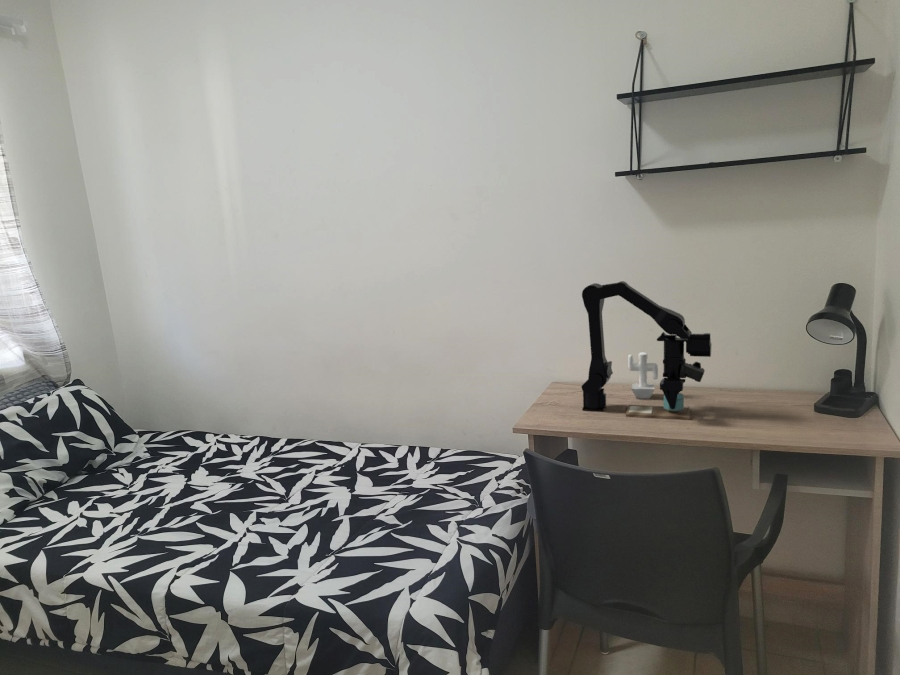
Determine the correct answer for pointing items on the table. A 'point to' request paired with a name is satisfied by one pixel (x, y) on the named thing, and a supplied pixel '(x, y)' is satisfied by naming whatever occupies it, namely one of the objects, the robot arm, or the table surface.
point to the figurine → (643, 375)
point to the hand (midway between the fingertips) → (673, 406)
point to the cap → (678, 405)
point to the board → (657, 412)
